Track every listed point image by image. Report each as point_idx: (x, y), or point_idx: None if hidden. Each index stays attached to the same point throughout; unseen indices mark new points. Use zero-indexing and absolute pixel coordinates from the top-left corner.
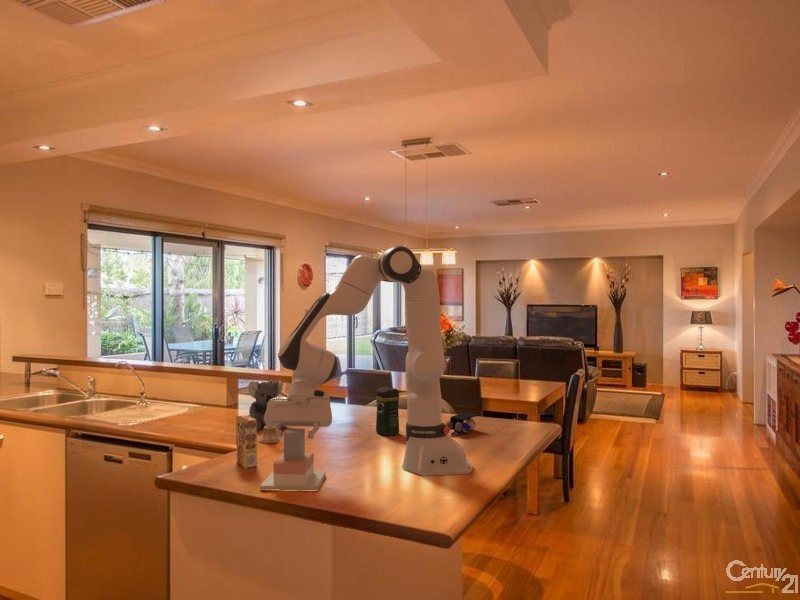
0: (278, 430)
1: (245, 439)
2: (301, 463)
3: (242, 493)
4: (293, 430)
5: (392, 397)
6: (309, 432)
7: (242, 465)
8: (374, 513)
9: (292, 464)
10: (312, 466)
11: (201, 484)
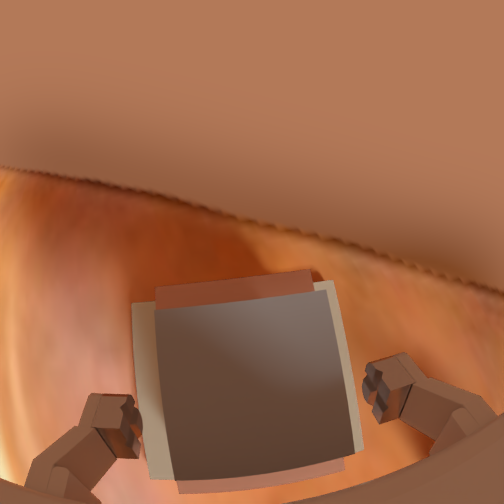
0: (415, 383)
1: None
2: (173, 291)
3: (366, 256)
4: (262, 384)
5: None
6: (111, 413)
7: None
8: (14, 194)
9: (216, 281)
10: None
11: (489, 298)
